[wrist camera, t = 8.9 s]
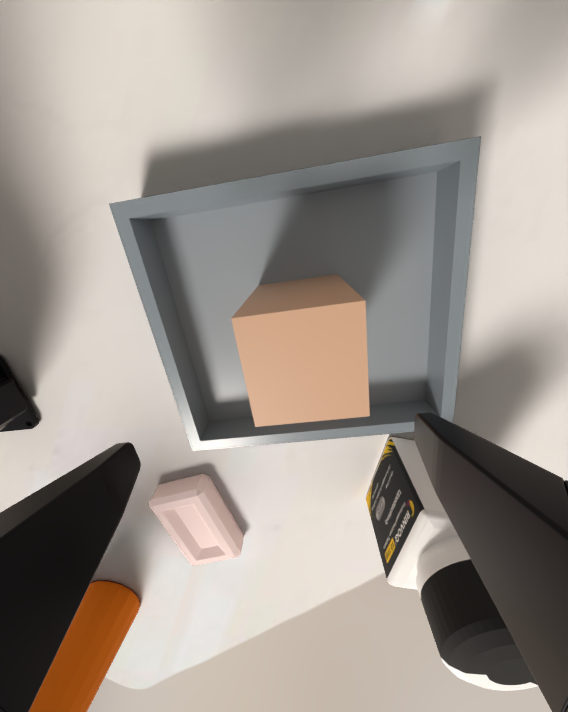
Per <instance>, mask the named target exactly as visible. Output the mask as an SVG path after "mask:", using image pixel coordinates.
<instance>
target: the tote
mask: <svg viewBox="0 0 568 712" xmlns="http://www.w3.org/2000/svg"><path fill="white" fill-rule="evenodd" d="M480 141H481V136H480V137H474V138H469V139H463V140H458V141H452V142H447V143H441V144H436V145H430V146H425V147H419V148H414V149H408V150H403V151H397V152H392V153H386V154H381V155H375V156H370V157H364V158H359V159H353V160H348V161H342V162H337V163H331V164H326V165H320V166H315V167H309V168H304V169H298V170H293V171H287V172H282V173H276V174H270V175H265V176H259V177H254V178H248V179H243V180H237V181H232V182H226V183H221V184H215V185H210V186H204V187H199V188H193V189H188V190H182V191H177V192H171V193H166V194H160V195H155V196H149V197H144V198H138V199H133V200H127V201H122V202H116V203H111V204H109V205H110V208H111V211H112V214H113V217H114V220H115V223H116V226H117V229H118V232H119V235H120V238H121V241H122V244H123V247H124V250H125V253H126V256H127V259H128V262H129V265H130V268H131V271H132V274H133V277H134V280H135V283H136V286H137V289H138V291H139V294H140V297H141V300H142V303H143V306H144V309H145V312H146V315H147V318H148V321H149V324H150V327H151V330H152V333H153V336H154V339H155V342H156V345H157V348H158V351H159V354H160V357H161V360H162V363H163V366H164V369H165V372H166V375H167V378H168V380H169V383H170V386H171V389H172V392H173V395H174V398H175V401H176V404H177V407H178V410H179V413H180V416H181V419H182V422H183V425H184V428H185V431H186V434H187V437H188V440H189V443H190V446H191V449H192V451H199V450H210V449H222V448H233V447H245V446H256V445H267V444H279V443H290V442H302V441H313V440H324V439H336V438H347V437H359V436H370V435H382V434H393V433H404V432H414V423H415V415H416V414H417V413H423V412H431V413H434V414H436V415H438V416H440V417H442V418H444V419H446V420H448V421H450V422H452V423H453V421H454V411H455V400H456V390H457V380H458V369H459V359H460V349H461V338H462V328H463V317H464V307H465V297H466V286H467V276H468V266H469V255H470V245H471V234H472V224H473V214H474V203H475V193H476V182H477V172H478V162H479V151H480ZM335 274H338V275H339V276H340V277H341V278H342V279H343V280H344V281H345V282H346V283H347V284H348V285H349V286H350V287H352V288H353V289H354V290H355V291H356V292H357V293H358V294H359V295H360V296H361V297H362V298H363V299H364V300H365V301H366V328H367V355H368V382H369V409H370V416H367V417H356V418H345V419H335V420H324V421H314V422H303V423H292V424H282V425H271V426H260V427H255V424H254V419H253V415H252V410H251V406H250V401H249V397H248V392H247V388H246V383H245V379H244V374H243V370H242V365H241V361H240V356H239V352H238V347H237V343H236V338H235V334H234V329H233V325H232V320H231V318H232V317H233V315H234V314H235V313H236V312H237V311H238V309H239V308H240V307H241V306H242V305H243V303H244V302H245V301H246V300H247V299H248V297H249V296H250V295H251V294H252V293H253V291H254V290H255V289H256V288H257V286H258V285H265V284H272V283H279V282H286V281H293V280H300V279H307V278H314V277H321V276H328V275H335Z"/></svg>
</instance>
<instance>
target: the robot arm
mask: <svg viewBox="0 0 568 712" xmlns="http://www.w3.org/2000/svg"><path fill="white" fill-rule="evenodd" d="M38 424H39V421H38V419H37V417H36V415H35V413H34V412H33V410H32V408H31V406H30V405H29V403H28V401H27V399H26V398H25V396H24V394H23V392H22V390H21V389H20V387H19V385H18V383H17V382H16V380H15V378H14V376H13V375H12V373H11V371H10V369H9V367H8V366H7V364H6V362H5V360H4V359H3V358H2V357H1V356H0V432H4V431H13V430H23V429H32V428H34V427H36V426H37V425H38ZM414 439H415V443H416V446H417V448H418V451H419V453H420V456H421V458H422V461H423V463H424V466H425V468H426V471H427V473H428V476H429V478H430V481H431V483H432V486H433V488H434V490H435V492H436V494H437V496H438V498H439V500H440V502H441V504H442V506H443V508H444V510H445V512H446V514H447V515H448V517H449V519H450V521H451V523H452V525H453V527H454V529H455V530H456V532H457V534H458V536H459V538H460V540H461V542H462V544H463V545H464V547H465V549H466V551H467V553H468V555H469V557H470V559H471V560H472V562H473V564H474V566H475V568H476V570H477V572H478V573H479V575H480V577H481V579H482V581H483V583H484V585H485V587H486V588H487V590H488V592H489V594H490V596H491V598H492V600H493V602H494V603H495V605H496V607H497V609H498V611H499V613H500V615H501V617H502V618H503V620H504V622H505V624H506V626H507V628H508V630H509V632H510V633H511V635H512V637H513V639H514V641H515V643H516V645H517V647H518V648H519V650H520V652H521V654H522V656H523V658H524V660H525V662H526V663H527V665H528V667H529V669H530V671H531V673H532V675H533V677H534V678H535V680H536V682H537V684H538V686H539V688H540V690H541V692H542V693H543V695H544V697H545V699H546V701H547V703H548V704H549V707H550V708H551V710H552V712H568V481H567V480H565V481H564V480H563V478H561V477H559V476H557V475H555V474H553V473H551V472H549V471H547V470H545V469H543V468H541V467H539V466H537V465H535V464H533V463H531V462H529V461H527V460H525V459H523V458H521V457H519V456H517V455H515V454H513V453H511V452H509V451H507V450H505V449H503V448H501V447H499V446H497V445H495V444H493V443H491V442H489V441H487V440H485V439H483V438H481V437H479V436H477V435H475V434H473V433H471V432H469V431H467V430H465V429H463V428H461V427H459V426H457V425H456V424H454V423H452V422H450V421H448V420H446V419H444V418H442V417H440V416H438V415H436V414H434V413H431V412H423V413H417V414H416V415H415V423H414ZM140 466H141V464H140V460H139V457H138V455H137V453H136V451H135V448H134V446H133V444H131V443H129V442H127V443H118V444H116V445H114V446H112V447H111V448H109V449H107V450H106V451H104V452H102V453H100V454H99V455H97V456H95V457H94V458H92V459H90V460H89V461H87V462H85V463H84V464H82V465H80V466H79V467H77V468H75V469H73V470H72V471H70V472H68V473H67V474H65V475H63V476H62V477H60V478H58V479H57V480H55V481H53V482H51V483H50V484H48V485H46V486H45V487H43V488H41V489H40V490H38V491H36V492H35V493H33V494H31V495H30V496H28V497H26V498H24V499H23V500H21V501H19V502H18V503H16V504H14V505H13V506H11V507H9V508H8V509H6V510H4V511H3V512H1V513H0V712H29V710H30V708H31V706H32V704H33V702H34V700H35V698H36V696H37V694H38V692H39V690H40V687H41V685H42V683H43V681H44V679H45V677H46V675H47V673H48V671H49V669H50V667H51V664H52V662H53V660H54V658H55V656H56V654H57V652H58V650H59V648H60V646H61V644H62V641H63V639H64V637H65V635H66V633H67V631H68V629H69V627H70V625H71V623H72V621H73V619H74V616H75V614H76V612H77V610H78V608H79V606H80V604H81V602H82V600H83V598H84V596H85V593H86V591H87V589H88V587H89V585H90V583H91V581H92V579H93V577H94V575H95V573H96V570H97V568H98V566H99V564H100V562H101V560H102V558H103V556H104V554H105V552H106V550H107V547H108V545H109V543H110V541H111V539H112V537H113V535H114V533H115V531H116V529H117V527H118V525H119V522H120V520H121V518H122V516H123V513H124V511H125V508H126V506H127V503H128V500H129V498H130V495H131V492H132V490H133V487H134V484H135V482H136V479H137V476H138V473H139V471H140Z"/></svg>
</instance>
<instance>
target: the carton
mask: <svg viewBox="0 0 568 712" xmlns="http://www.w3.org/2000/svg"><path fill="white" fill-rule="evenodd" d="M231 320H232V325H233V329H234V334H235V338H236V343H237V347H238V352H239V356H240V361H241V365H242V370H243V374H244V379H245V383H246V388H247V392H248V397H249V401H250V406H251V410H252V415H253V419H254V424H255V427H260V426H271V425H282V424H292V423H303V422H314V421H324V420H335V419H345V418H356V417H367V416H370V409H369V382H368V355H367V328H366V301H365V300H364V299H363V298H362V297H361V296H360V295H359V294H358V293H357V292H356V291H355V290H354V289H353V288H352V287H350V286H349V285H348V284H347V283H346V282H345V281H344V280H343V279H342V278H341V277H340V276H339V275H338V274H335V275H328V276H321V277H314V278H307V279H300V280H293V281H286V282H279V283H272V284H265V285H258V286H257V288H256V289H255V290H254V291H253V293H252V294H251V295H250V296H249V297H248V299H247V300H246V301H245V302H244V303H243V305H242V306H241V307H240V308H239V309H238V311H237V312H236V313H235V314H234V315H233V317H232V318H231Z"/></svg>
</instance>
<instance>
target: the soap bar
mask: <svg viewBox="0 0 568 712" xmlns="http://www.w3.org/2000/svg"><path fill="white" fill-rule="evenodd" d="M148 505H149V506H150V508H151V509H152V510H153V512H154V513H155V515H156V516H157V517H158V519H159V520H160V522H161V523H162V524H163V526H164V527H165V529H166V530H167V532H168V533H169V534H170V536H171V537H172V539H173V540H174V541H175V543H176V544H177V546H178V547H179V548H180V550H181V551H182V553H183V554H184V555H185V557H186V558H187V560H188V561H189V562H190V563H191V564H192V565H193V566H194V565H200V564H205V563H211V562H216V561H221V560H227V559H232V558H237V557H239V555H240V554H241V549H242V544H243V538H244V535H243V533H242V532H241V530H240V528H239V527H238V525H237V523H236V521H235V520H234V518H233V516H232V515H231V513H230V511H229V509H228V508H227V506H226V504H225V503H224V501H223V499H222V497H221V496H220V494H219V492H218V490H217V489H216V487H215V485H214V484H213V482H212V480H211V478H210V477H209V476H207V475H205V474H199V475H195V476H191V477H187V478H183V479H179V480H175V481H171V482H167V483H163V484H159V485H158V487H157V489H156V491H155V492H154V494H153V496H152V498H151V500H150V502H149V504H148Z"/></svg>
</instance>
